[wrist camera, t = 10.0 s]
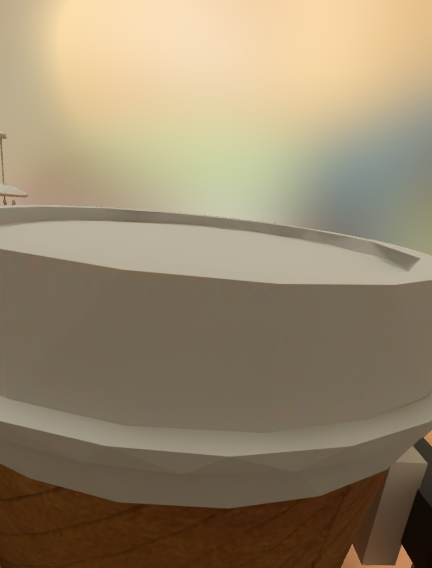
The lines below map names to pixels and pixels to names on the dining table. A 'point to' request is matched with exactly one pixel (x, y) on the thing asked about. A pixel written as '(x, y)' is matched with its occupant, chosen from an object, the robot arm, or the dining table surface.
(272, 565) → the disposable coffee cup
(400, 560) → the dining table surface
